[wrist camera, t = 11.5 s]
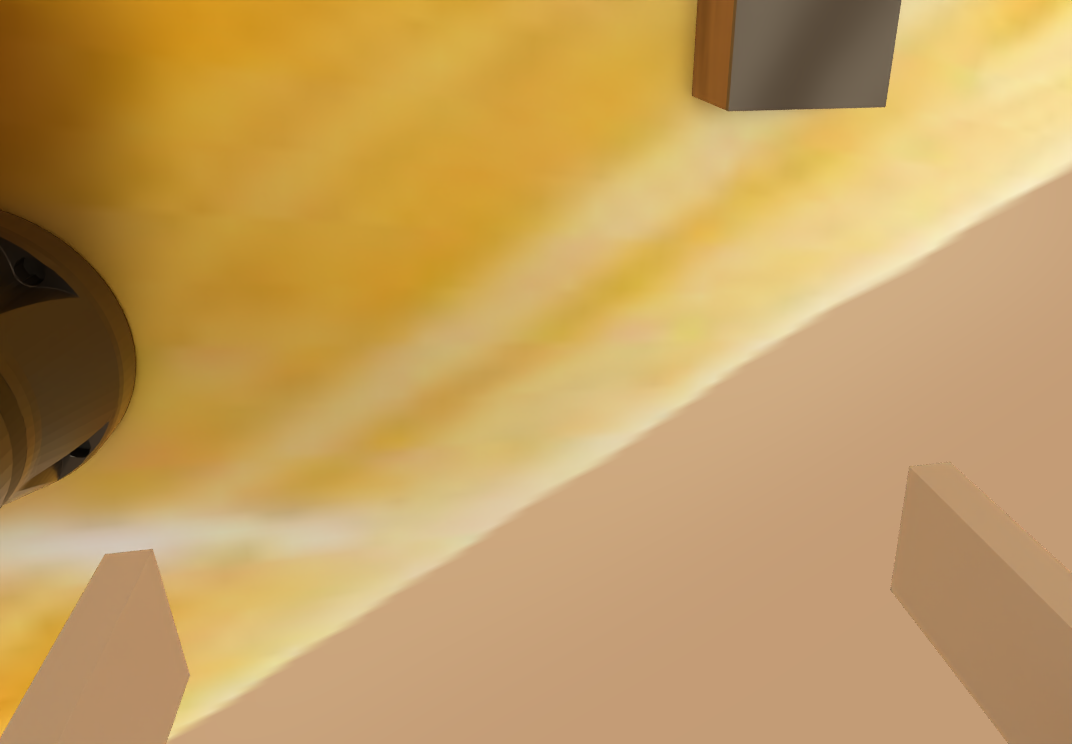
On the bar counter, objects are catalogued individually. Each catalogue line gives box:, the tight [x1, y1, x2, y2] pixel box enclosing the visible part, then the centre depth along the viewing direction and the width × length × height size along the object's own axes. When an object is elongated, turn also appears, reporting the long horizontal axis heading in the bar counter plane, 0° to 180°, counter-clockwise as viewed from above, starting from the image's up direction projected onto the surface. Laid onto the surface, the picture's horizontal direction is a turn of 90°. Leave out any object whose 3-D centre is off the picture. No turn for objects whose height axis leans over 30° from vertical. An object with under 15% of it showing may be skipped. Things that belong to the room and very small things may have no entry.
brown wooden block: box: [692, 0, 901, 111], centre depth 38 cm, size 7×7×6 cm
